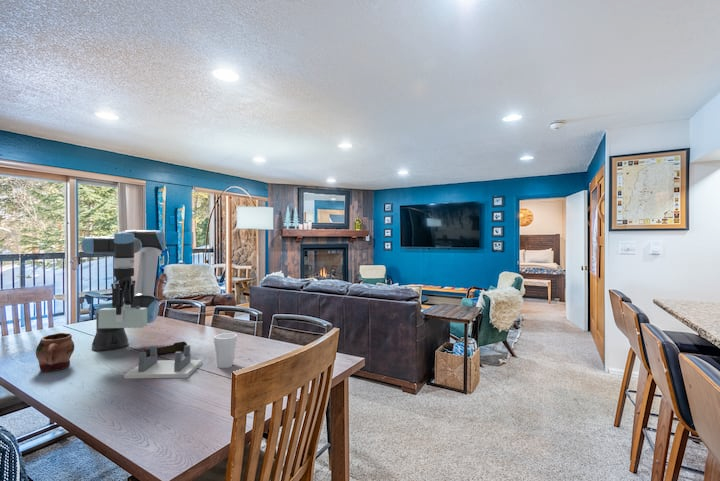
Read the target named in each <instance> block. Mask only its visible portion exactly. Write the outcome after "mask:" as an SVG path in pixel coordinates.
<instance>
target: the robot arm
mask: <svg viewBox="0 0 720 481" xmlns="http://www.w3.org/2000/svg"><path fill="white" fill-rule="evenodd" d="M166 244H167V243H166V236H165V233H164V231H163V230H161V229H159V230H158V229H157V230H156V229H126V230H122V231H117V232H115V233H113V234H109V235H104V236H86V237H83V239H82V241H81V250H82V252H83V253H85V254H92V255H93V254H97V255H98V254H113V277H114V278H116V280H115V282H114V283H111V284H110V286H111V298H112V299H110V300H107V301H102V302H100V303H98V304H97V306H96V313H95V314H96V315H95V316H96V317H95V318H96V321H95V322H96V323H95V325H96V328H95V329H96V333H95V335H94V338H93V341H92V343H91V350H93V351H98V352H99V351H101V352H102V351H112V350H116V349H117V350H118V349H121V348H124V347H126V346H128V345H129V338H128V336H127V332H126V330H125V328H98V311H99V310H100V309H103V308H116V322H124V308H136V306H140V308H147V324H152V323H154V322H155V321H156V320H157V317H158V315H159V312H160V311H159V310H160V301H159V300H157V297H156V296H155V295H154V292H155V287H156V286H155V285H156V279H157V278H156V277H157V269H158V263H159V262H158V260H159V256H161V255H162V253H163V251H166V249H167V245H166ZM137 253H138V254H139V255H140V256H139V257H140V258H139V263H138V264H139V265H138V271H137V276H136V280H133V279H132V277H134V276H135V268H134V267H135V254H137Z"/></svg>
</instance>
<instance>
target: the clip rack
mask: <svg viewBox="0 0 720 481" xmlns="http://www.w3.org/2000/svg"><path fill="white" fill-rule="evenodd" d="M149 347H150V348H149V349H150V356H149V357H146V352H143V351H140V352H139V353H138V356H139V357H138V363H137V364H138V365H137V366H135V367H133V369H131V370H129V371H127V372H126V373H124V374H123V378H124V379H173V378H174V379H175V378H176V379H178V378H179V379H180V378H181V379H185V378H186V379H187V378H188V377H189V376H190V375H191V374H192V373H194V372H195V371H196V370H197V369H198V368H199V367H200V366H201V365H202V364H203V360H202V359H191V357H192V355H191V344H187V345H185V346H184V351H181V352H174V359H171V360H168V359H167V360H166V359H165V360H164V359H163V360H158V355H157V348H158V345H151V346H149ZM182 352H183V353H182ZM182 354H183V356H182Z"/></svg>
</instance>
